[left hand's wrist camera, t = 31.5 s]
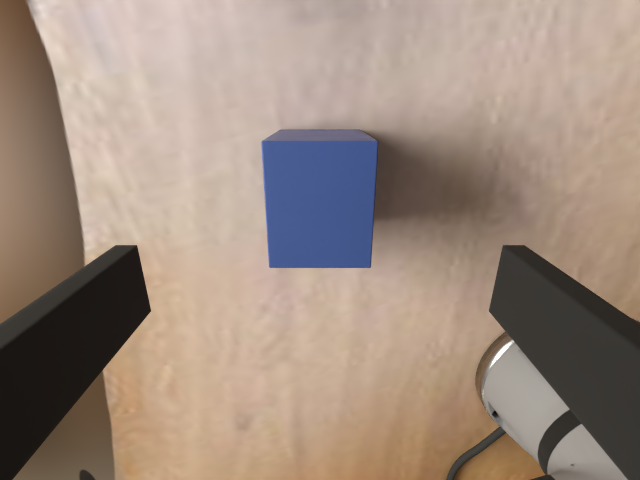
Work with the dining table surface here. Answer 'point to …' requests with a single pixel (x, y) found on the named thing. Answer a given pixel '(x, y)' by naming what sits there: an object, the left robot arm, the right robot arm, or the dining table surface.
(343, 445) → the dining table surface
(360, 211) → the brick
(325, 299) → the dining table surface
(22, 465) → the left robot arm
